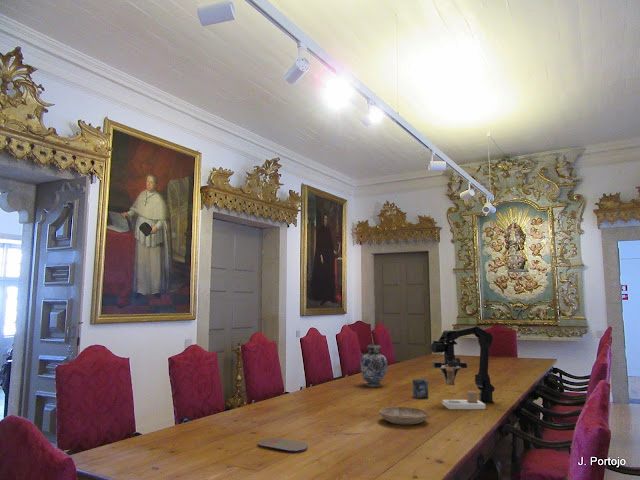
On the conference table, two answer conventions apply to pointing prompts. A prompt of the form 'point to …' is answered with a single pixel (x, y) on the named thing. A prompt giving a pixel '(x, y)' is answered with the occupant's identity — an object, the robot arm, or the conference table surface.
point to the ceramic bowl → (404, 415)
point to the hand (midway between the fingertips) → (449, 380)
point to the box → (420, 388)
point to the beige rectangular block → (450, 377)
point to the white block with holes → (465, 402)
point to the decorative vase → (373, 366)
